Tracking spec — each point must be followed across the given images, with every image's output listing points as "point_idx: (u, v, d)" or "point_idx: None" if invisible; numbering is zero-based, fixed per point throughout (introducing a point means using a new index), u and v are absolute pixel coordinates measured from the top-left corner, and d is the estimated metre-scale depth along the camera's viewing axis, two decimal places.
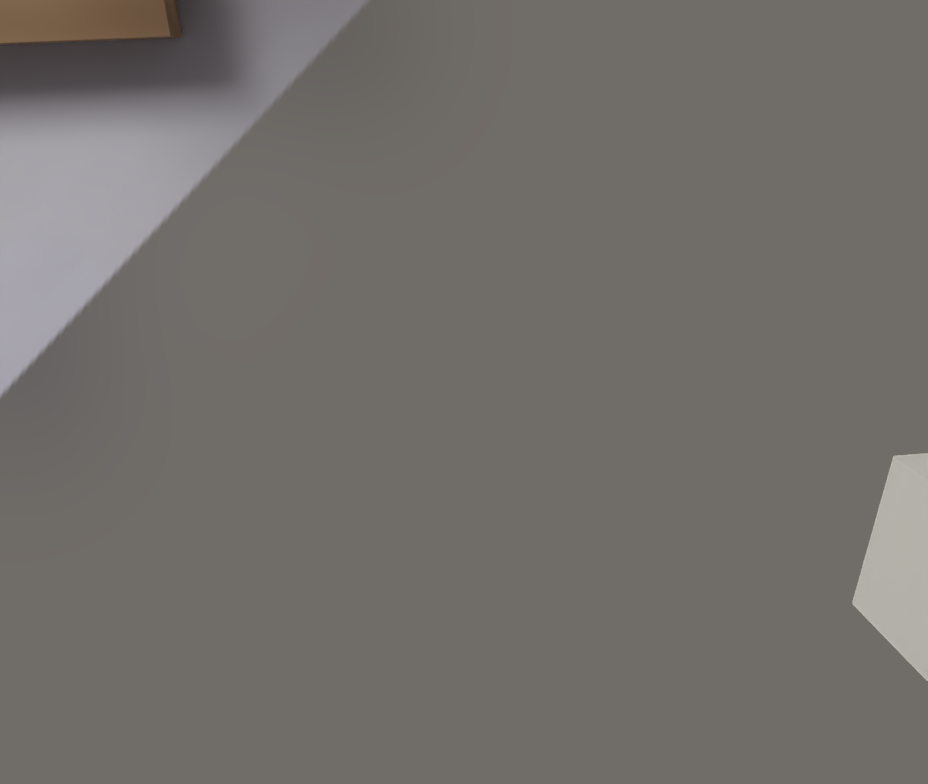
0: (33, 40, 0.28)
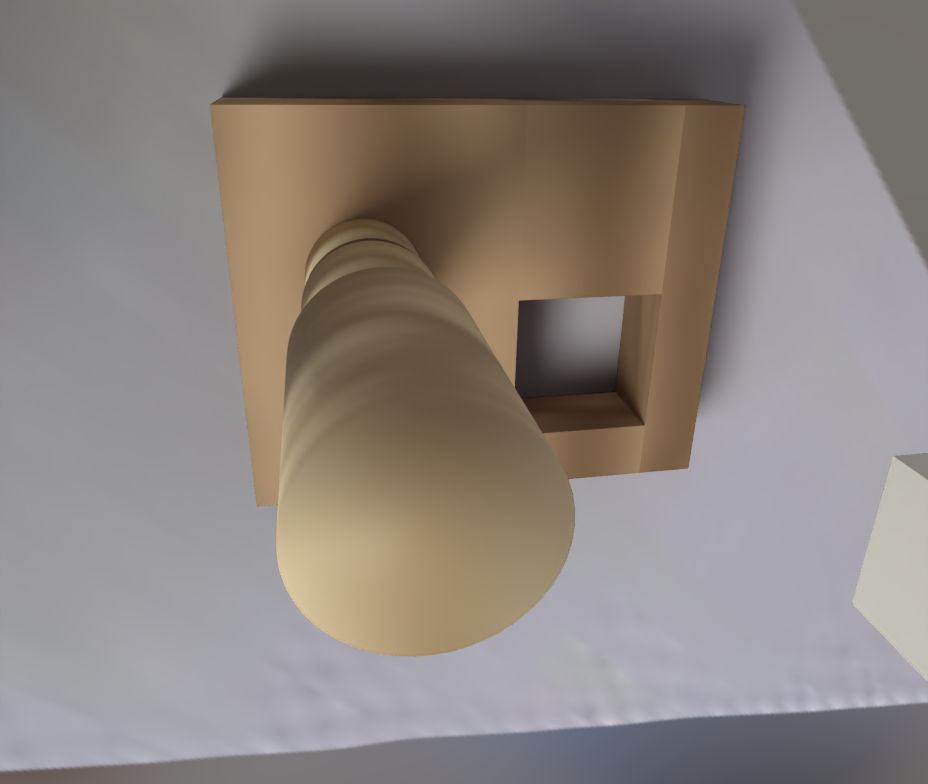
0: (720, 258, 0.26)
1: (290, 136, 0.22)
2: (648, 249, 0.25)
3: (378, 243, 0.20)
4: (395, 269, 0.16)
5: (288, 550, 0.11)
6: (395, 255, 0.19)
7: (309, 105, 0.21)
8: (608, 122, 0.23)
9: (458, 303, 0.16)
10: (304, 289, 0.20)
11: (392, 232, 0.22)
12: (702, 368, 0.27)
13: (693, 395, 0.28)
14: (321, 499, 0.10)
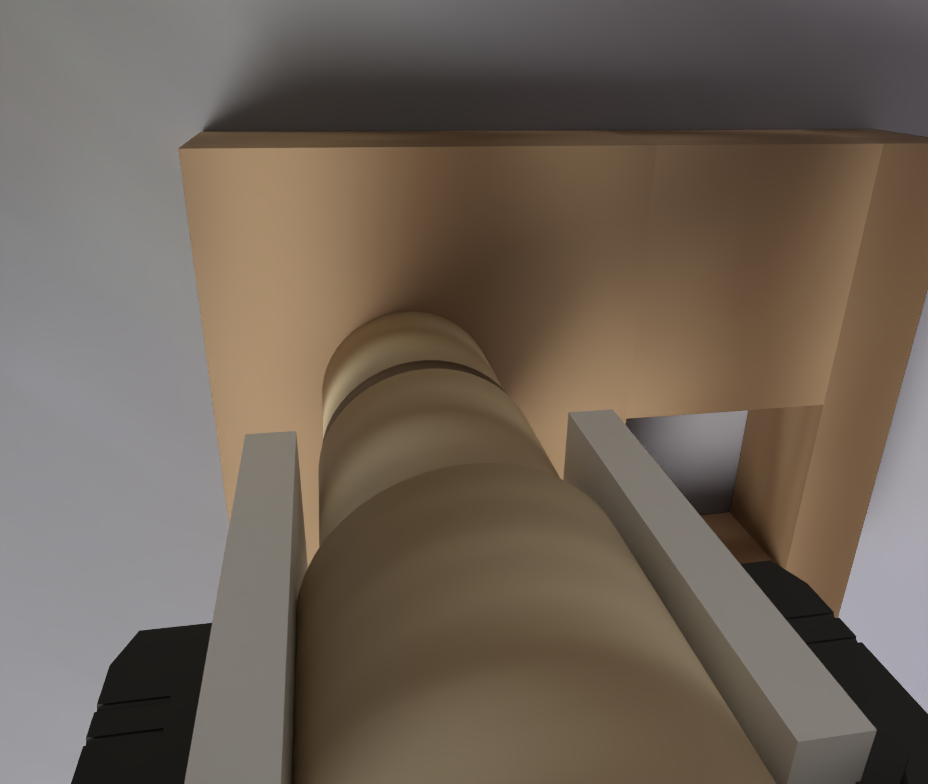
0: (908, 355, 0.18)
1: (302, 194, 0.14)
2: (811, 345, 0.18)
3: (443, 374, 0.12)
4: (496, 471, 0.09)
5: None
6: (475, 404, 0.11)
7: (331, 148, 0.14)
8: (771, 168, 0.16)
9: (615, 540, 0.09)
10: (324, 445, 0.12)
11: (455, 337, 0.15)
12: (868, 499, 0.20)
13: (852, 533, 0.20)
14: None
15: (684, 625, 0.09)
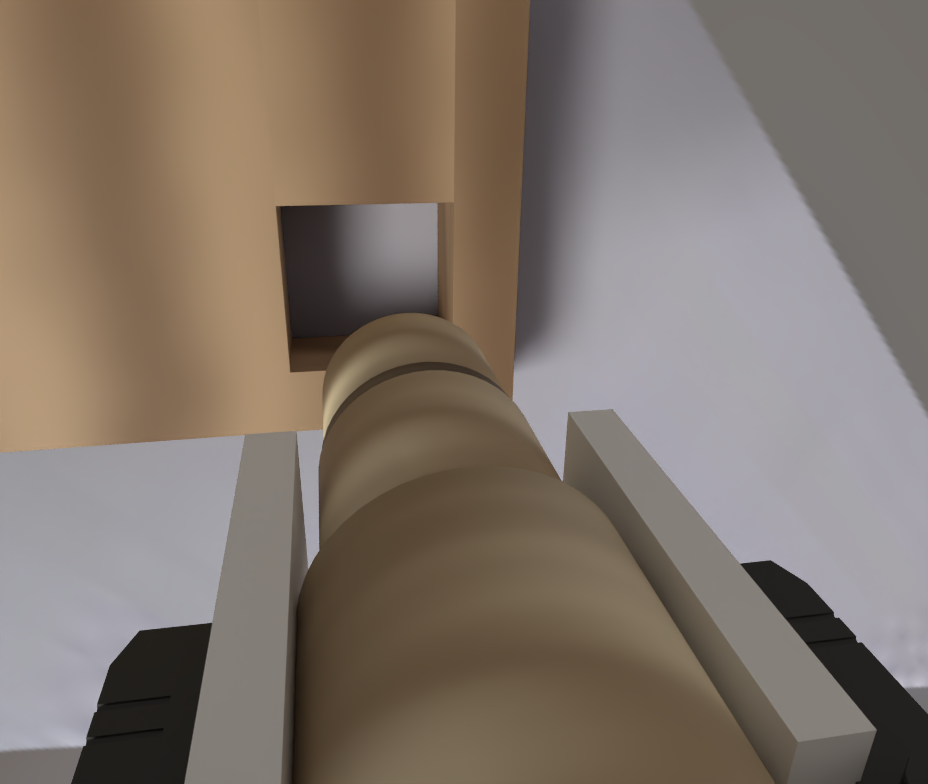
0: (522, 159, 0.22)
1: None
2: (430, 146, 0.21)
3: (443, 376, 0.12)
4: (496, 474, 0.09)
5: None
6: (476, 406, 0.11)
7: None
8: None
9: (616, 543, 0.09)
10: (324, 447, 0.12)
11: (455, 338, 0.15)
12: (514, 295, 0.23)
13: (508, 327, 0.24)
14: None
15: (684, 625, 0.09)
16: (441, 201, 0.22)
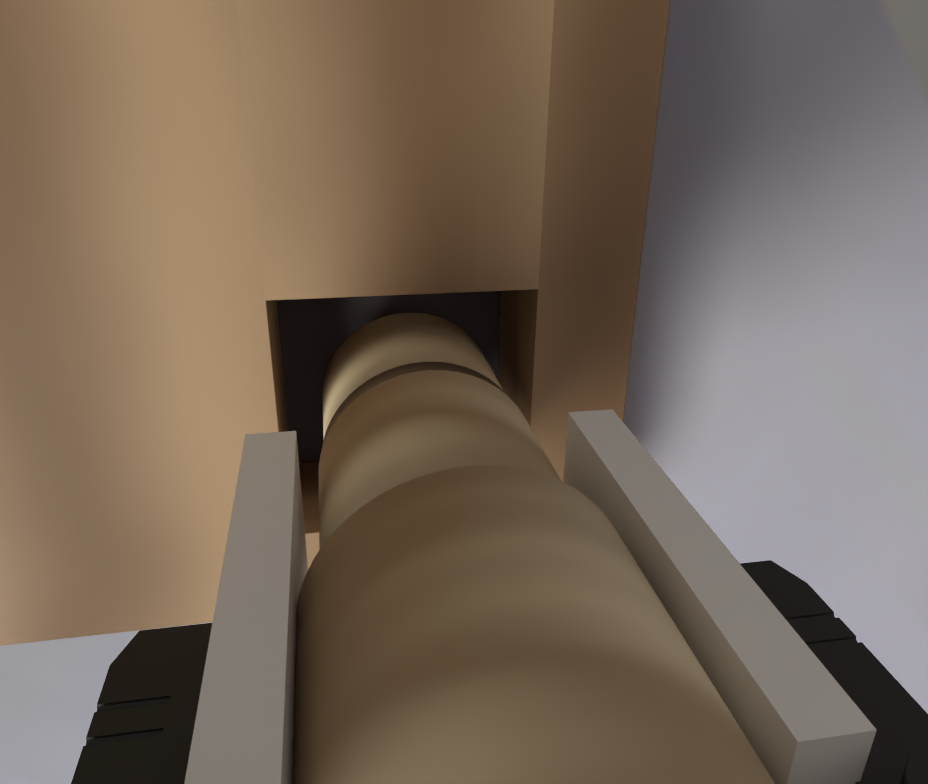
0: (643, 224, 0.14)
1: None
2: (506, 206, 0.14)
3: (443, 376, 0.12)
4: (496, 473, 0.09)
5: None
6: (475, 406, 0.11)
7: None
8: None
9: (616, 542, 0.09)
10: (324, 447, 0.12)
11: (455, 338, 0.15)
12: (620, 418, 0.16)
13: None
14: None
15: (684, 625, 0.09)
16: (519, 288, 0.14)
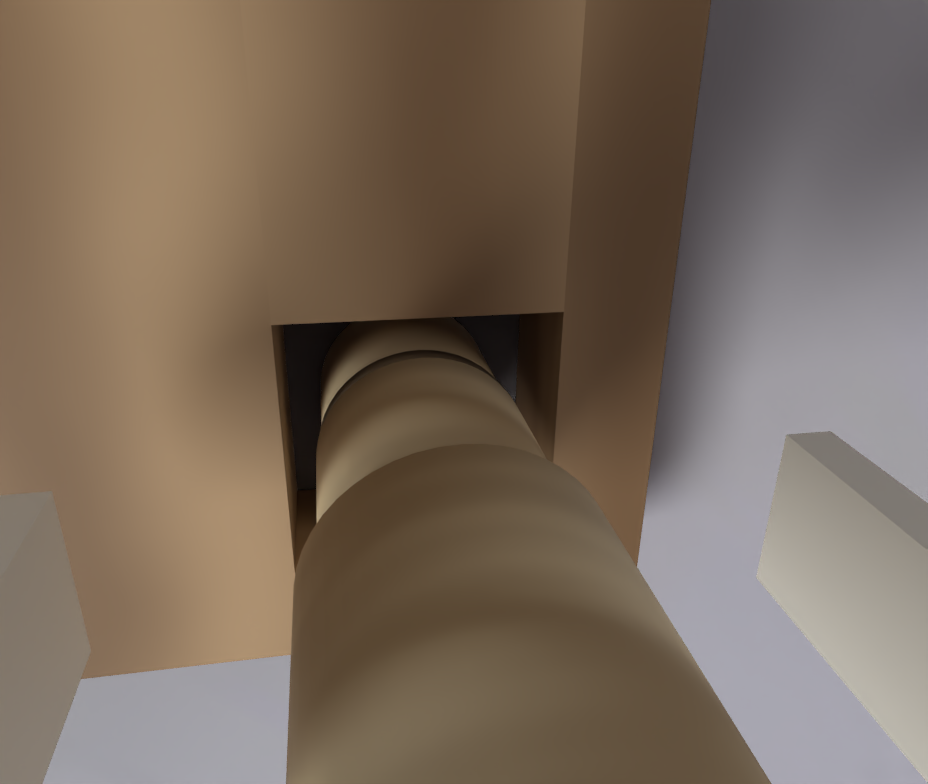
0: (677, 242, 0.13)
1: None
2: (531, 224, 0.13)
3: (436, 363, 0.13)
4: (483, 451, 0.09)
5: None
6: (467, 391, 0.12)
7: None
8: None
9: (597, 516, 0.09)
10: (321, 432, 0.13)
11: (448, 329, 0.15)
12: (649, 447, 0.15)
13: (634, 494, 0.15)
14: None
15: None
16: (544, 311, 0.13)
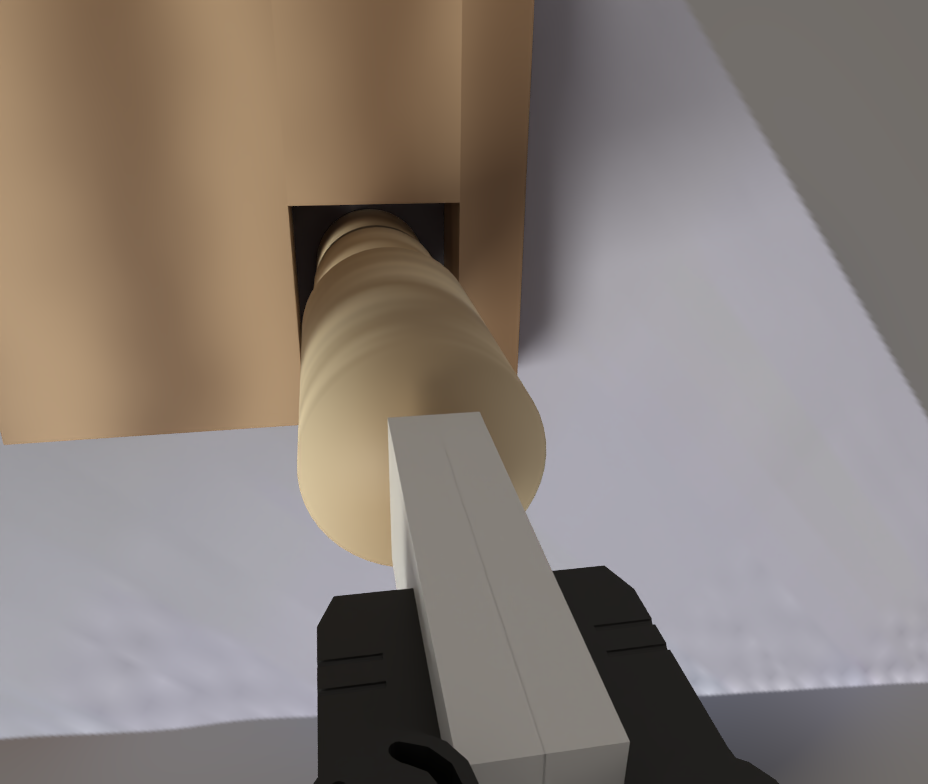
0: (525, 160, 0.22)
1: None
2: (437, 148, 0.22)
3: (383, 229, 0.22)
4: (397, 249, 0.19)
5: (307, 471, 0.13)
6: (398, 239, 0.21)
7: None
8: None
9: (453, 278, 0.18)
10: (317, 270, 0.22)
11: (396, 221, 0.24)
12: (518, 292, 0.24)
13: (512, 324, 0.24)
14: (334, 427, 0.13)
15: None
16: (447, 201, 0.23)
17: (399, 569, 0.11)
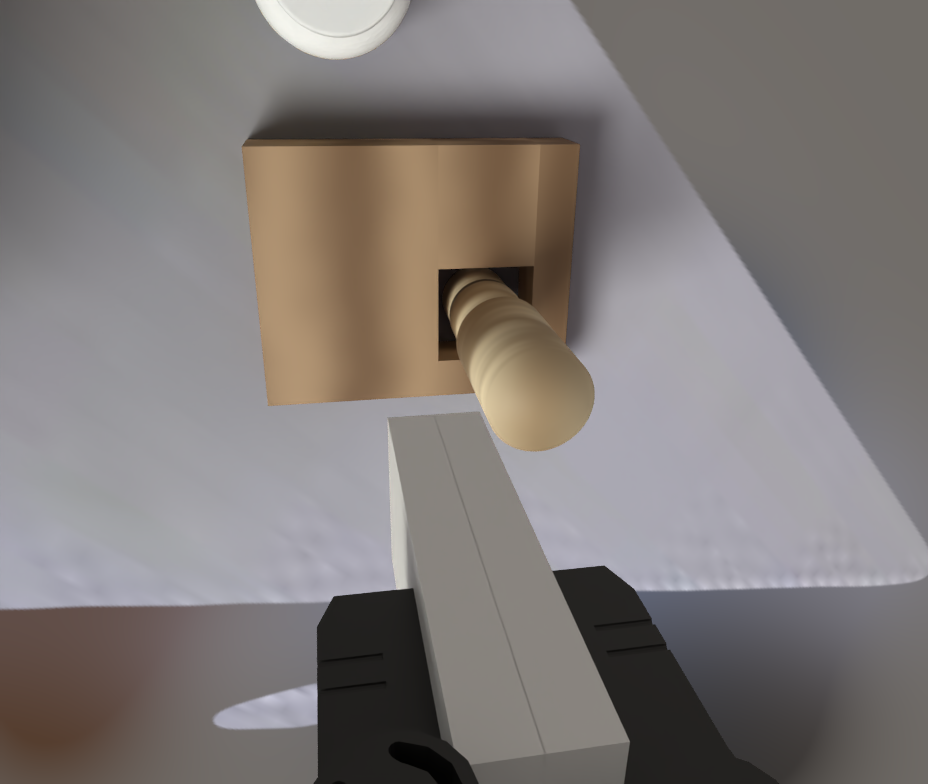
0: (572, 242, 0.39)
1: (290, 165, 0.35)
2: (522, 236, 0.39)
3: (491, 282, 0.39)
4: (509, 297, 0.35)
5: (490, 404, 0.30)
6: (502, 289, 0.38)
7: (302, 146, 0.35)
8: (490, 155, 0.37)
9: (539, 313, 0.35)
10: (453, 305, 0.39)
11: (493, 274, 0.41)
12: (566, 317, 0.41)
13: (561, 335, 0.41)
14: (504, 384, 0.29)
15: None
16: (527, 265, 0.39)
17: (399, 569, 0.11)
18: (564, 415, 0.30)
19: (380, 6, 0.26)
